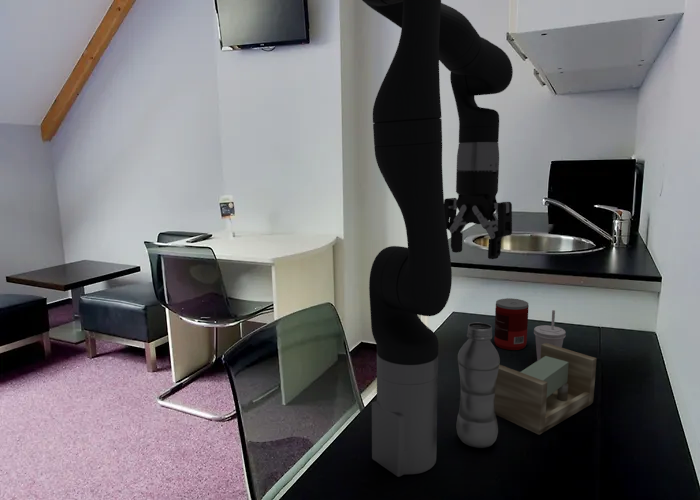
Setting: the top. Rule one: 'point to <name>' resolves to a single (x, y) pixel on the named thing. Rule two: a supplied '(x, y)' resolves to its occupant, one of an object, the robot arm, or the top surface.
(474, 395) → the plastic bottle
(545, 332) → the smoothie
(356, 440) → the top surface
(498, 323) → the canned food
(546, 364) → the grey-green rectangular block
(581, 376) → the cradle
